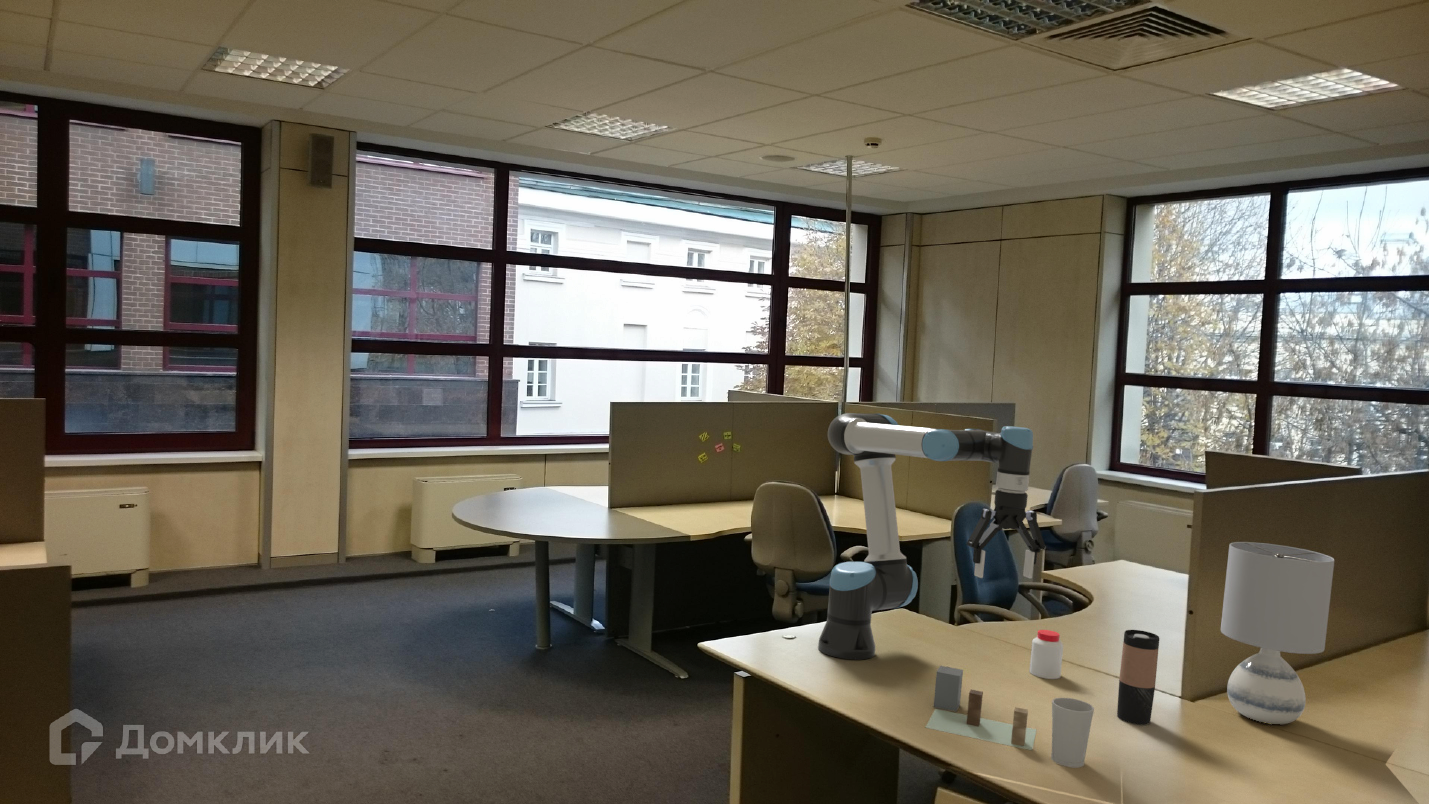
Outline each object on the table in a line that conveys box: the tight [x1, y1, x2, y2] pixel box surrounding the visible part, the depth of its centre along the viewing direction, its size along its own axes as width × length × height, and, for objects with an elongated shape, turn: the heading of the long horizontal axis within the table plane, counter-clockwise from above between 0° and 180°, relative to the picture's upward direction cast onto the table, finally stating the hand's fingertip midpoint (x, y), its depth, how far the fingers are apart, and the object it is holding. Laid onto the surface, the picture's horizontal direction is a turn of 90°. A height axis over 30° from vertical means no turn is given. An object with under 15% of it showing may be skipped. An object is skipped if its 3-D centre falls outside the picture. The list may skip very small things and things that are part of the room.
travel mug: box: [1116, 629, 1160, 726], centre depth 226 cm, size 8×8×20 cm
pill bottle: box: [1028, 629, 1064, 680], centre depth 256 cm, size 8×8×11 cm
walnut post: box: [966, 689, 984, 727], centre depth 215 cm, size 3×3×7 cm
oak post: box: [1011, 706, 1029, 746], centre depth 205 cm, size 3×3×7 cm
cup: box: [1050, 697, 1095, 768], centre depth 198 cm, size 8×8×12 cm
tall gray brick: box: [933, 665, 964, 713], centre depth 225 cm, size 5×5×9 cm
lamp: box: [1220, 541, 1335, 725], centre depth 233 cm, size 22×22×40 cm
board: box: [924, 708, 1037, 751], centre depth 212 cm, size 22×13×1 cm, turn 68°
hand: (1003, 577), depth 238 cm, fingers open, 13 cm apart
